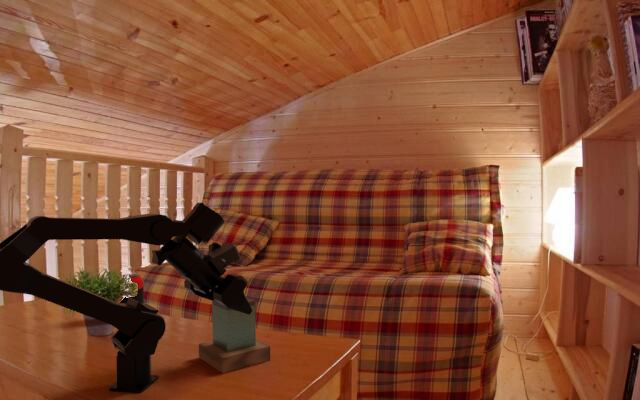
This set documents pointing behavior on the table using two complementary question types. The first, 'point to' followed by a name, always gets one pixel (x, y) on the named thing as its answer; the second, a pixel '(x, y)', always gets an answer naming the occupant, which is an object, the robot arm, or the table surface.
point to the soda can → (140, 294)
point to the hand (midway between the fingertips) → (239, 308)
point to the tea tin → (233, 327)
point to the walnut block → (233, 356)
